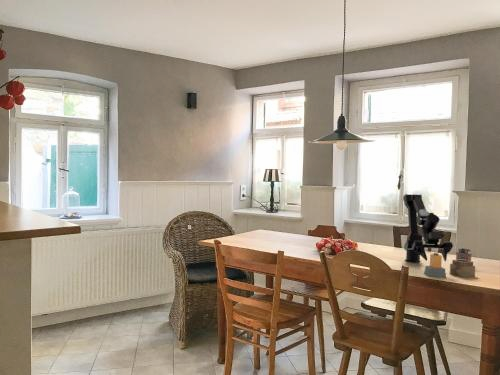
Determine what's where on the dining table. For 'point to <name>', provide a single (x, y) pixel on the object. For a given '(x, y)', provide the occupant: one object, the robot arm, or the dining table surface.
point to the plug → (435, 260)
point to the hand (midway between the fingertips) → (436, 260)
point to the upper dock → (462, 268)
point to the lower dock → (435, 271)
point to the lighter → (463, 254)
